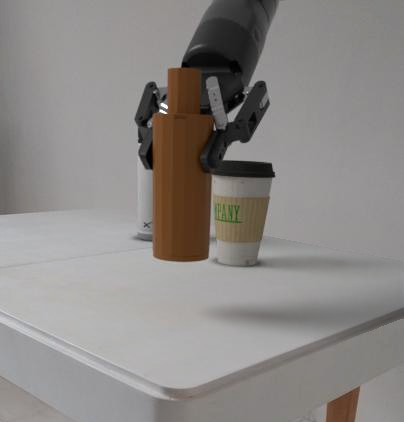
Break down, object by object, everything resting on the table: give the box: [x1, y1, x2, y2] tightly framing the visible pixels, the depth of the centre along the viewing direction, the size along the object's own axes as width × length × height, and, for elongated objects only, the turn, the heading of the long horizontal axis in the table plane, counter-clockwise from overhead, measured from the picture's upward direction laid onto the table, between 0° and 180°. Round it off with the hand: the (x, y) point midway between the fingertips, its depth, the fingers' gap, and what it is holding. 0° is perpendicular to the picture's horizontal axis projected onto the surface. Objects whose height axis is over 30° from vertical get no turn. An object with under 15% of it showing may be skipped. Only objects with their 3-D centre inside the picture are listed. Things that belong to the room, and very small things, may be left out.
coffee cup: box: [212, 159, 276, 267], centre depth 87 cm, size 10×10×15 cm
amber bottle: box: [152, 67, 215, 263], centre depth 57 cm, size 6×6×18 cm
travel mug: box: [137, 127, 153, 242], centre depth 103 cm, size 6×7×20 cm
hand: (175, 165), depth 56 cm, fingers closed on amber bottle, 6 cm apart
